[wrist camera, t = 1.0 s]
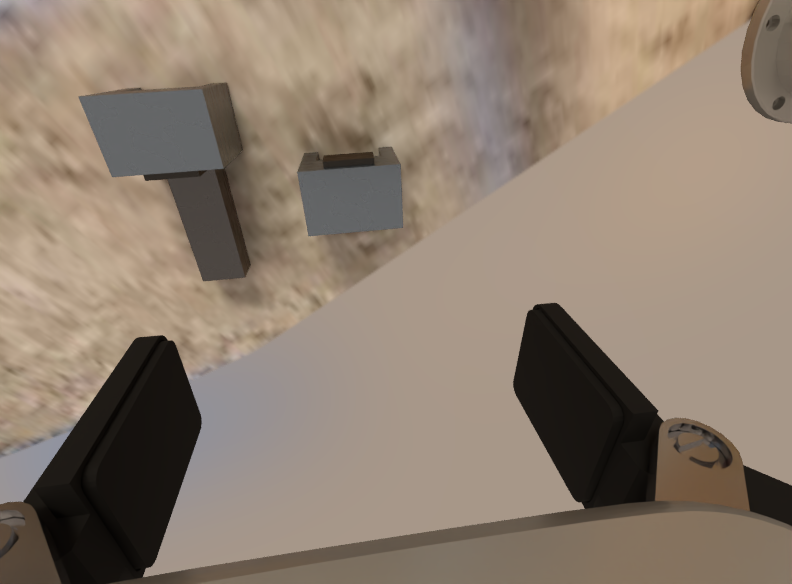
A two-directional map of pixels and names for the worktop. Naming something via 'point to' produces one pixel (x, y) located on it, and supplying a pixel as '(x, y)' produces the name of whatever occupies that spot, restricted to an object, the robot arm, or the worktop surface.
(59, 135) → the worktop surface
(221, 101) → the rail
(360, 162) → the grey block
